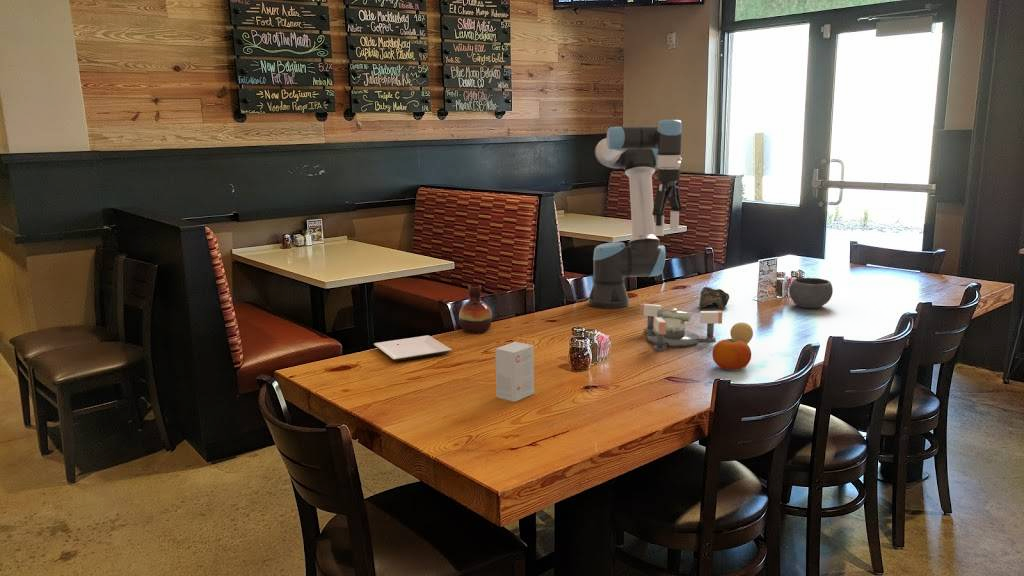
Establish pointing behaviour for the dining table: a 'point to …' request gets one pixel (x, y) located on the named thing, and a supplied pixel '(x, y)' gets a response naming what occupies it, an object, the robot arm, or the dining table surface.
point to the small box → (514, 371)
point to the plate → (412, 348)
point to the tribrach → (675, 331)
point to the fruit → (731, 354)
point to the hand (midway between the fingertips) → (666, 233)
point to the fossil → (713, 297)
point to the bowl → (810, 292)
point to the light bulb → (742, 332)
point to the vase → (475, 312)
